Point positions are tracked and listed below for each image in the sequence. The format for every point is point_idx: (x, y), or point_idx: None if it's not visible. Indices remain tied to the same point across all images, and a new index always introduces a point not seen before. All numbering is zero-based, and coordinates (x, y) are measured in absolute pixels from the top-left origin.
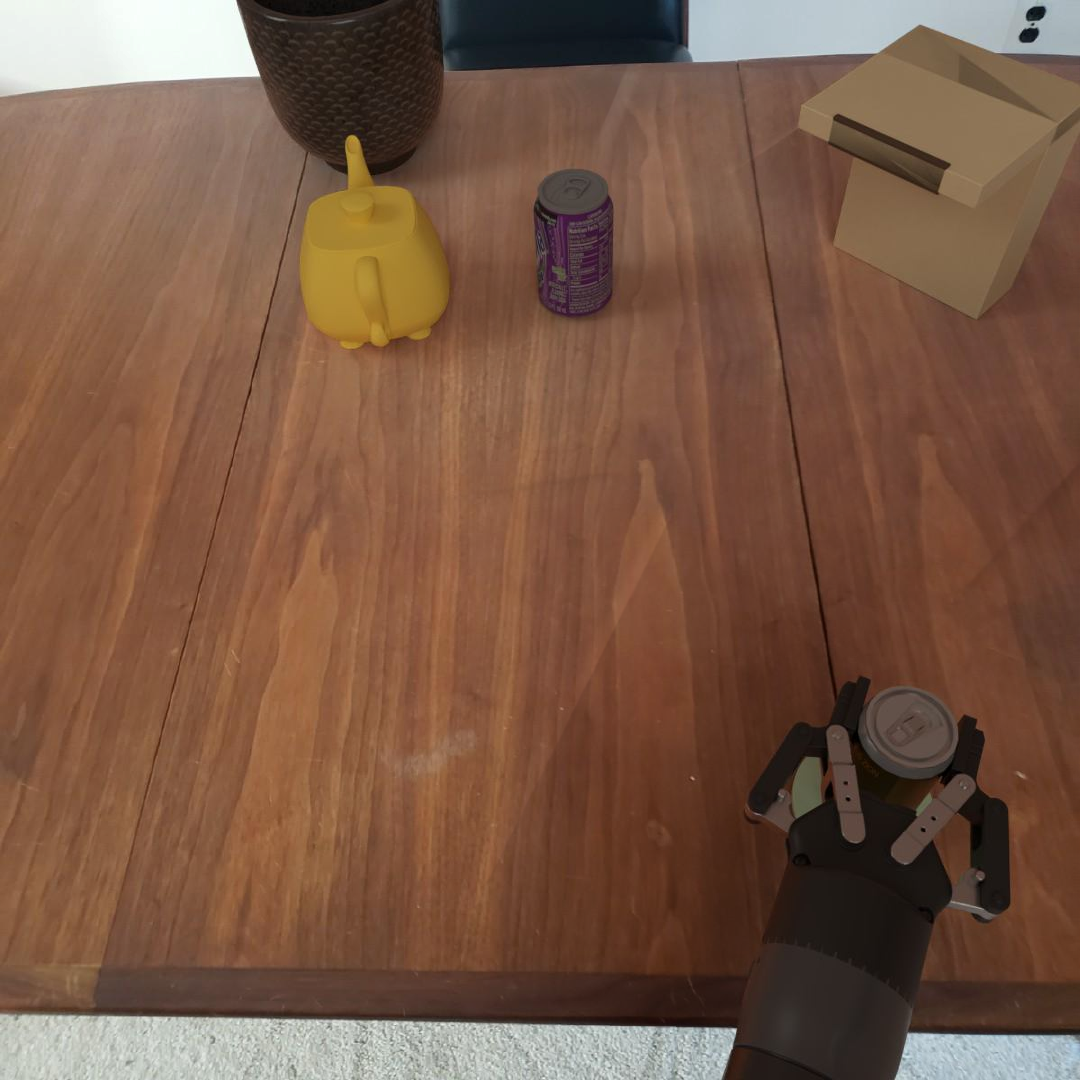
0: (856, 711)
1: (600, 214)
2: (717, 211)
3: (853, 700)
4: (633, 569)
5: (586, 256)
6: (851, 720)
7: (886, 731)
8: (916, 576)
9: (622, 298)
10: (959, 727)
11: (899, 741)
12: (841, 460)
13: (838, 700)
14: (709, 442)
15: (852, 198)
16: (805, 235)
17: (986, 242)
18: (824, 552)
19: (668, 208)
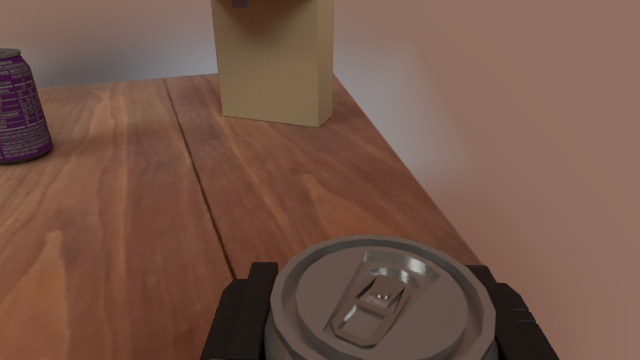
0: (255, 318)
1: (10, 64)
2: (146, 113)
3: (245, 301)
4: (5, 326)
5: (4, 100)
6: (245, 340)
7: (329, 326)
8: None
9: (63, 151)
10: None
11: (367, 336)
12: (245, 197)
13: (216, 316)
14: (125, 208)
15: (223, 78)
16: (204, 114)
17: (306, 72)
18: (239, 255)
19: (111, 116)
